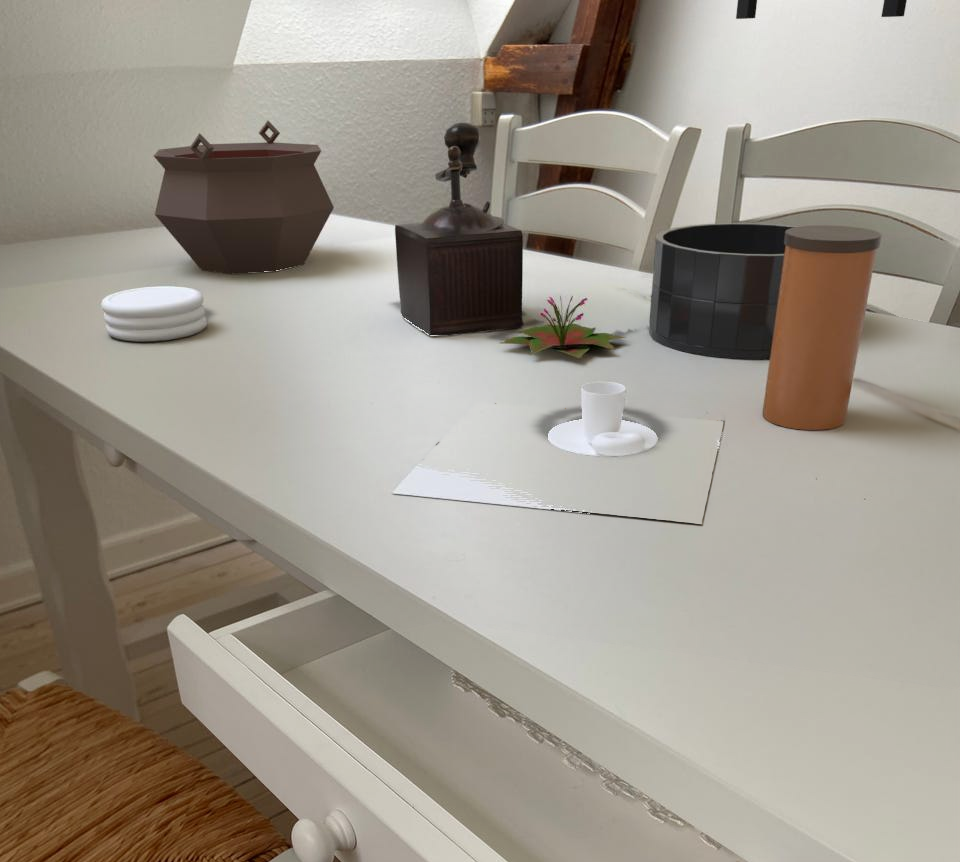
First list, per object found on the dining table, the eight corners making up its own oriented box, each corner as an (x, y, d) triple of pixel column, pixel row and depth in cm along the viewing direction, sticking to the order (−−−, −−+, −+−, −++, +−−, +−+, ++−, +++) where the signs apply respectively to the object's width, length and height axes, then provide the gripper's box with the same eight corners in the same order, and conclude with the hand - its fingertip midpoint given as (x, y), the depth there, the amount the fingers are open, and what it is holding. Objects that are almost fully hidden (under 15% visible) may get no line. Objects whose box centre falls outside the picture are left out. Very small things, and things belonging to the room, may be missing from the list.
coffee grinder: (531, 327, 102) (534, 130, 93) (428, 338, 99) (421, 135, 90) (476, 296, 115) (474, 120, 105) (383, 305, 111) (373, 124, 102)
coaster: (116, 348, 97) (109, 311, 95) (99, 326, 105) (92, 291, 103) (218, 335, 101) (213, 299, 99) (194, 314, 109) (189, 281, 107)
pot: (873, 346, 95) (892, 245, 90) (713, 368, 89) (725, 262, 84) (761, 307, 109) (772, 218, 104) (616, 323, 103) (622, 230, 99)
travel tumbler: (865, 424, 76) (902, 236, 69) (794, 435, 74) (825, 243, 67) (811, 399, 81) (839, 222, 74) (743, 410, 79) (766, 229, 72)
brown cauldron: (207, 245, 146) (189, 119, 137) (365, 249, 141) (356, 119, 133) (125, 279, 126) (98, 133, 117) (307, 285, 121) (292, 134, 113)
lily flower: (543, 325, 103) (544, 279, 100) (648, 342, 97) (651, 293, 94) (475, 352, 95) (474, 302, 92) (584, 372, 89) (587, 319, 86)
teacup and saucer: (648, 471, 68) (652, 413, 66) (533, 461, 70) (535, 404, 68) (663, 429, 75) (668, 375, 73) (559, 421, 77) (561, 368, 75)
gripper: (987, -289, 82) (930, 16, 93) (692, -295, 79) (670, 20, 90) (1043, -317, 76) (975, 15, 86) (725, -325, 73) (696, 18, 84)
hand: (819, 18), depth 88 cm, fingers open, 13 cm apart
